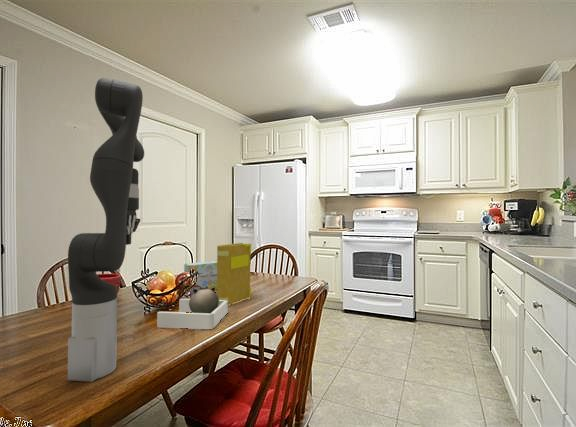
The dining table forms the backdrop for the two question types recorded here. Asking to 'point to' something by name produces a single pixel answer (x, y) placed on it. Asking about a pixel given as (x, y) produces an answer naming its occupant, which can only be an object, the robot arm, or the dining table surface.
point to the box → (191, 317)
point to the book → (233, 272)
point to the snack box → (203, 275)
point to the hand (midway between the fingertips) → (127, 244)
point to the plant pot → (111, 279)
